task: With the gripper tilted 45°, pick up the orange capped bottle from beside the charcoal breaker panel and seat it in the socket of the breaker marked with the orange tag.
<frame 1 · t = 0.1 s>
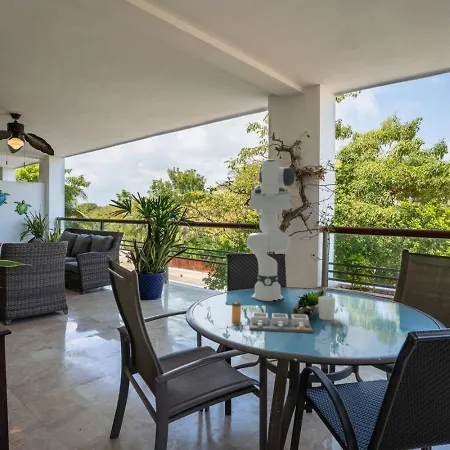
hand: (269, 218, 180), 48 cm above the table, tool pointing down, fingers open, 8 cm apart
breaker panel: (279, 326, 161), on the table
white cup: (326, 318, 174), on the table
orange capped bottle: (236, 322, 166), on the table
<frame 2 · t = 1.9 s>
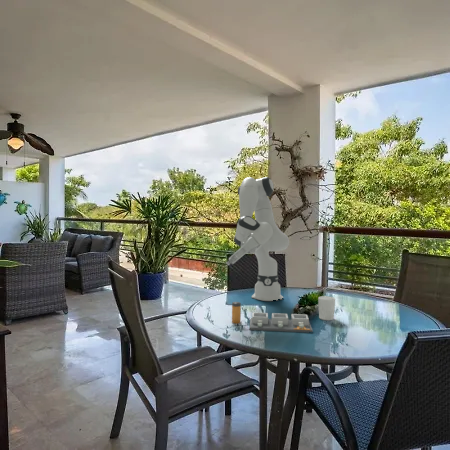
hand: (231, 260, 169), 28 cm above the table, tool tilted 60°, fingers open, 8 cm apart
nothing on the table moved.
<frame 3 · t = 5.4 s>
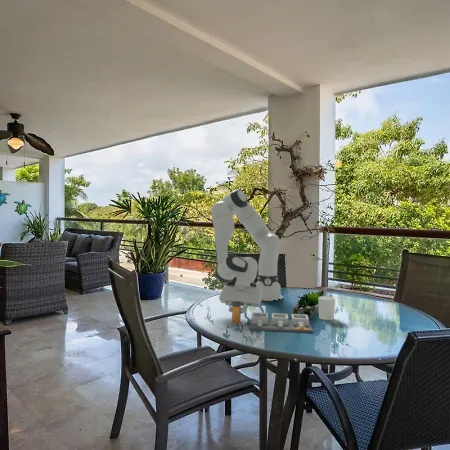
hand: (235, 312, 166), 5 cm above the table, tool tilted 45°, fingers closed on orange capped bottle, 4 cm apart
orange capped bottle: (236, 322, 166), on the table, touching gripper
everything else where it was.
when the fingers open (7 cm above the table, at t = 11.9 s): orange capped bottle stays where it is, resting on breaker panel.
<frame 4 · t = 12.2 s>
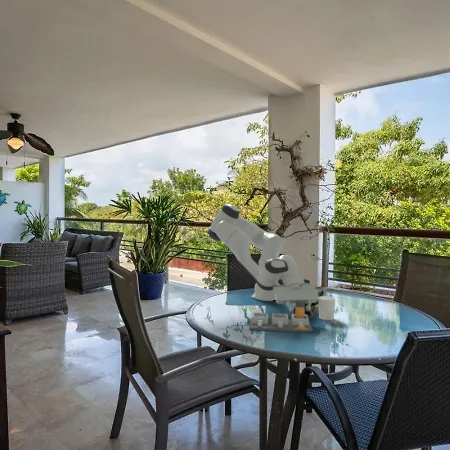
hand: (300, 310, 162), 7 cm above the table, tool tilted 45°, fingers open, 7 cm apart
orange capped bottle: (299, 323, 163), point 1 cm above the table, touching breaker panel
everything else where it was.
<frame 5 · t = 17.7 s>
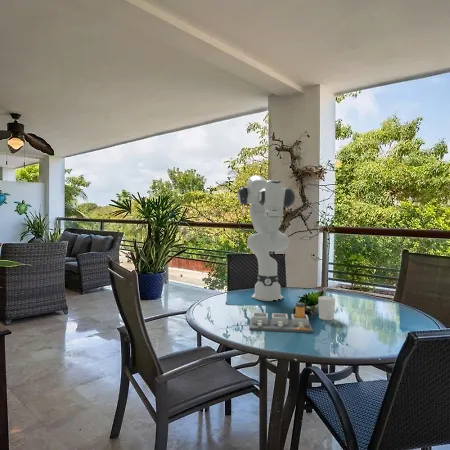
hand: (273, 240, 177), 37 cm above the table, tool pointing down, fingers open, 8 cm apart
nothing on the table moved.
at the end: orange capped bottle 0.1 cm from the target spot on the breaker panel, point 1.0 cm above the breaker panel's base; orange capped bottle tilted 0°; the gripper is holding nothing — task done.
